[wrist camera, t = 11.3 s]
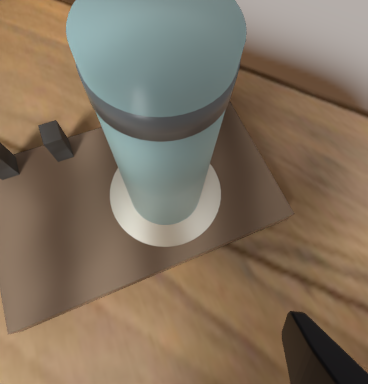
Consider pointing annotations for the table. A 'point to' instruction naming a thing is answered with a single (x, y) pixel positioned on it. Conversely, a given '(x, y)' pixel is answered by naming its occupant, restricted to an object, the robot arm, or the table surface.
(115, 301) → the table surface
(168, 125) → the teal capped cylinder
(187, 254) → the comb board
